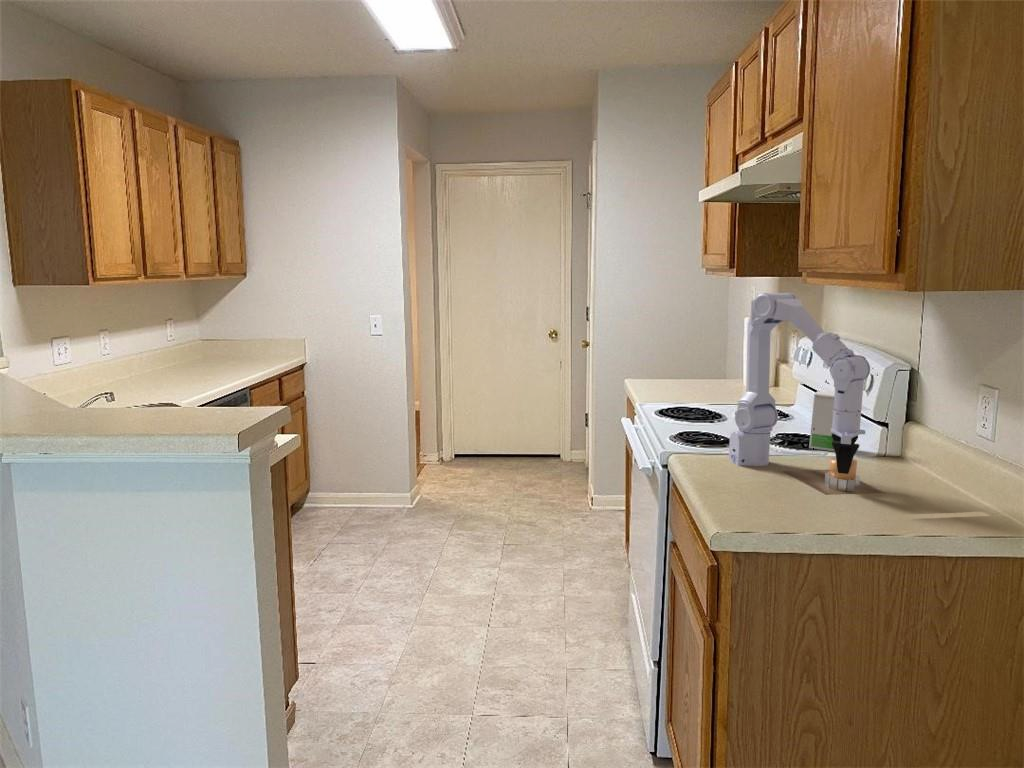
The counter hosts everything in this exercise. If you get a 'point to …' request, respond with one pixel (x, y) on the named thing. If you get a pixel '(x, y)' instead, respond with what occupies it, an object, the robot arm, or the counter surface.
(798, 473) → the brown board
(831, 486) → the duct stub
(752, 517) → the counter surface
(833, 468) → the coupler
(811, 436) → the skincare box
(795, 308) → the robot arm
